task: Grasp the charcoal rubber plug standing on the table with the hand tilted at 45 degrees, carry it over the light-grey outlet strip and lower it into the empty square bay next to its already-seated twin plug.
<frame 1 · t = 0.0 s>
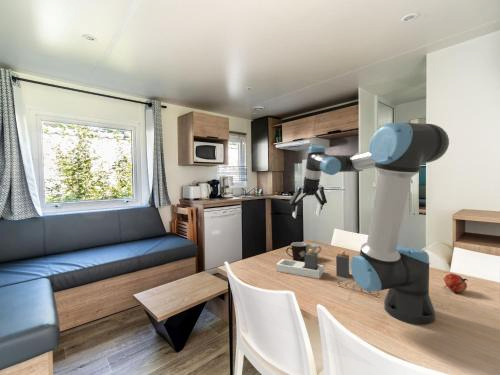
hand: (305, 216, 131), 28 cm above the table, tool tilted 20°, fingers open, 13 cm apart
twin plug: (311, 273, 125), resting on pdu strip
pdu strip: (299, 272, 128), on the table
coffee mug: (296, 261, 144), on the table, touching teacup
plug: (342, 276, 122), on the table
teacup: (309, 258, 149), on the table, touching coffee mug
pomegranate: (454, 291, 104), on the table
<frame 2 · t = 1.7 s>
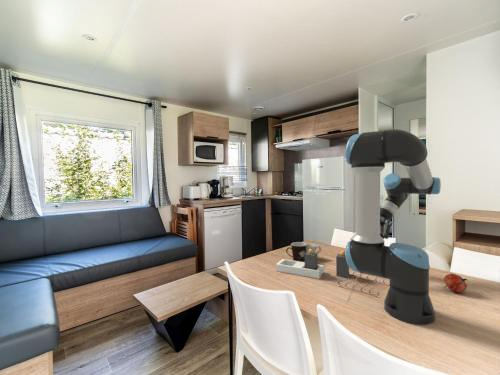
hand: (361, 244, 124), 15 cm above the table, tool tilted 45°, fingers open, 13 cm apart
nothing on the table moved.
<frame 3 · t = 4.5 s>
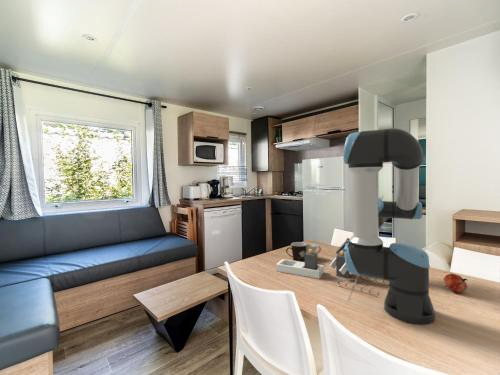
hand: (336, 269, 121), 4 cm above the table, tool tilted 45°, fingers closed on plug, 7 cm apart
plug: (342, 276, 122), on the table, touching gripper
everything else where it was.
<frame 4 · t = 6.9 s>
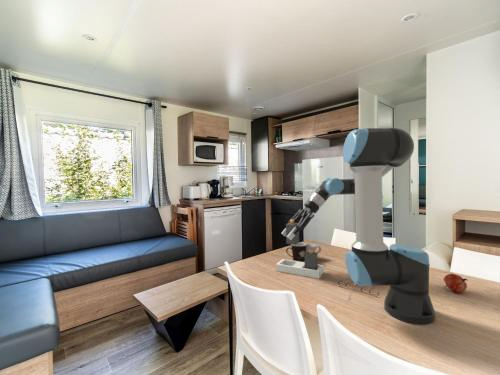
hand: (286, 236, 130), 18 cm above the table, tool tilted 45°, fingers closed on plug, 7 cm apart
plug: (292, 242, 131), point 14 cm above the table, touching gripper
everything else where it was.
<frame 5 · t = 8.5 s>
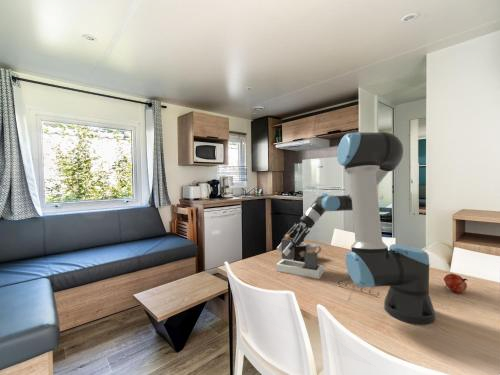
hand: (281, 251, 130), 10 cm above the table, tool tilted 45°, fingers closed on plug, 7 cm apart
plug: (288, 257, 131), point 6 cm above the table, touching gripper
everything else where it was.
when the fingers open (6 cm above the table, at t = 9.7 s): plug drops 2 cm, resting on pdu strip.
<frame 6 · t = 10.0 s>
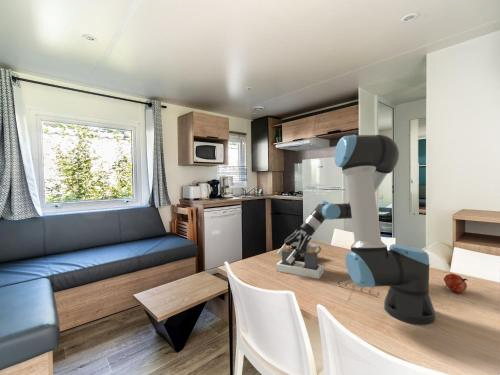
hand: (283, 258, 130), 7 cm above the table, tool tilted 45°, fingers open, 11 cm apart
plug: (288, 269, 131), point 1 cm above the table, touching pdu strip
everything else where it was.
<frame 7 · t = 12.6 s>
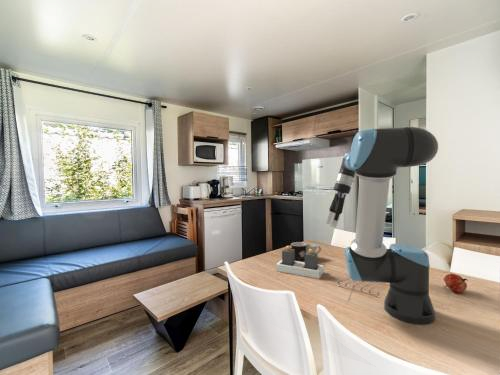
hand: (330, 225, 125), 24 cm above the table, tool tilted 20°, fingers open, 13 cm apart
nothing on the table moved.
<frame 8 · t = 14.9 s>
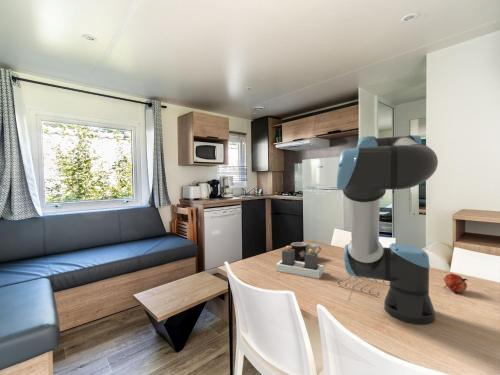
hand: (367, 218, 114), 29 cm above the table, tool pointing down, fingers open, 13 cm apart
nothing on the table moved.
at the end: plug 0.2 cm from the target spot on the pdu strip, point 0.6 cm above the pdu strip's base; plug tilted 0°; the gripper is holding nothing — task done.
